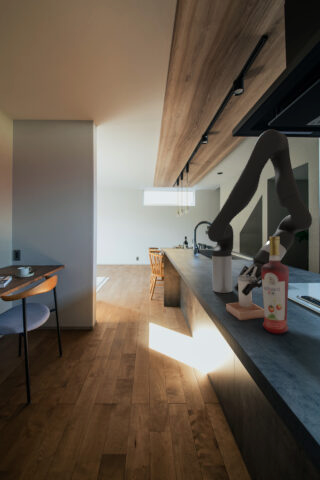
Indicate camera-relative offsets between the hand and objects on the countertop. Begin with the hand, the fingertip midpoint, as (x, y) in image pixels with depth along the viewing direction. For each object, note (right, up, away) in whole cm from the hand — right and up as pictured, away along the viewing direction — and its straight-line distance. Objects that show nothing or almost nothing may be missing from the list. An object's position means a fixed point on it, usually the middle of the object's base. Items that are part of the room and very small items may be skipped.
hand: (240, 291), depth 80 cm
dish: (+2, -8, +1) cm, 8 cm away
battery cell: (+2, -5, +1) cm, 5 cm away
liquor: (+6, -9, -13) cm, 17 cm away
